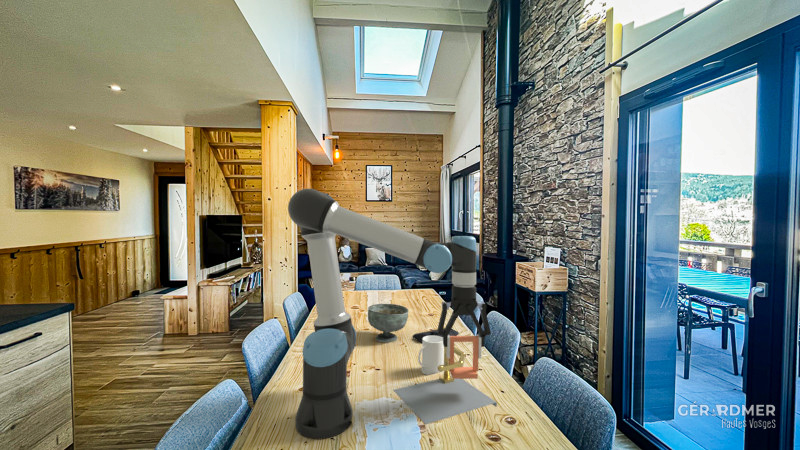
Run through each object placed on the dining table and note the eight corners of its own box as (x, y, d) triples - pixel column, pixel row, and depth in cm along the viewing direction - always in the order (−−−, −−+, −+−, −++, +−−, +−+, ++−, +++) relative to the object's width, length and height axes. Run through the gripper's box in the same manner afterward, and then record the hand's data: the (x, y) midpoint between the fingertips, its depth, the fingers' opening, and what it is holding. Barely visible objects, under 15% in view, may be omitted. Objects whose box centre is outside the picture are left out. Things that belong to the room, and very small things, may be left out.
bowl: (408, 346, 144) (408, 313, 144) (365, 346, 144) (365, 312, 144) (407, 332, 164) (408, 302, 164) (369, 331, 164) (370, 302, 164)
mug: (425, 381, 112) (425, 346, 112) (409, 372, 119) (410, 339, 119) (449, 372, 119) (449, 339, 119) (433, 364, 125) (434, 333, 126)
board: (425, 428, 85) (425, 424, 85) (393, 393, 103) (393, 390, 103) (496, 406, 96) (496, 402, 96) (456, 378, 114) (456, 374, 114)
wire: (439, 412, 91) (439, 360, 91) (410, 386, 106) (411, 341, 106) (480, 400, 97) (480, 352, 98) (447, 377, 112) (448, 335, 112)
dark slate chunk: (463, 338, 157) (464, 328, 157) (428, 347, 144) (428, 337, 144) (442, 330, 169) (442, 321, 169) (408, 337, 157) (408, 328, 157)
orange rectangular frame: (479, 378, 99) (480, 339, 99) (450, 378, 98) (450, 339, 99) (475, 371, 104) (475, 334, 104) (447, 371, 103) (448, 333, 104)
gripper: (494, 283, 105) (494, 352, 105) (428, 282, 105) (427, 352, 105) (502, 287, 98) (501, 361, 97) (430, 287, 97) (430, 361, 97)
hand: (463, 356), depth 101 cm, fingers closed on orange rectangular frame, 9 cm apart
